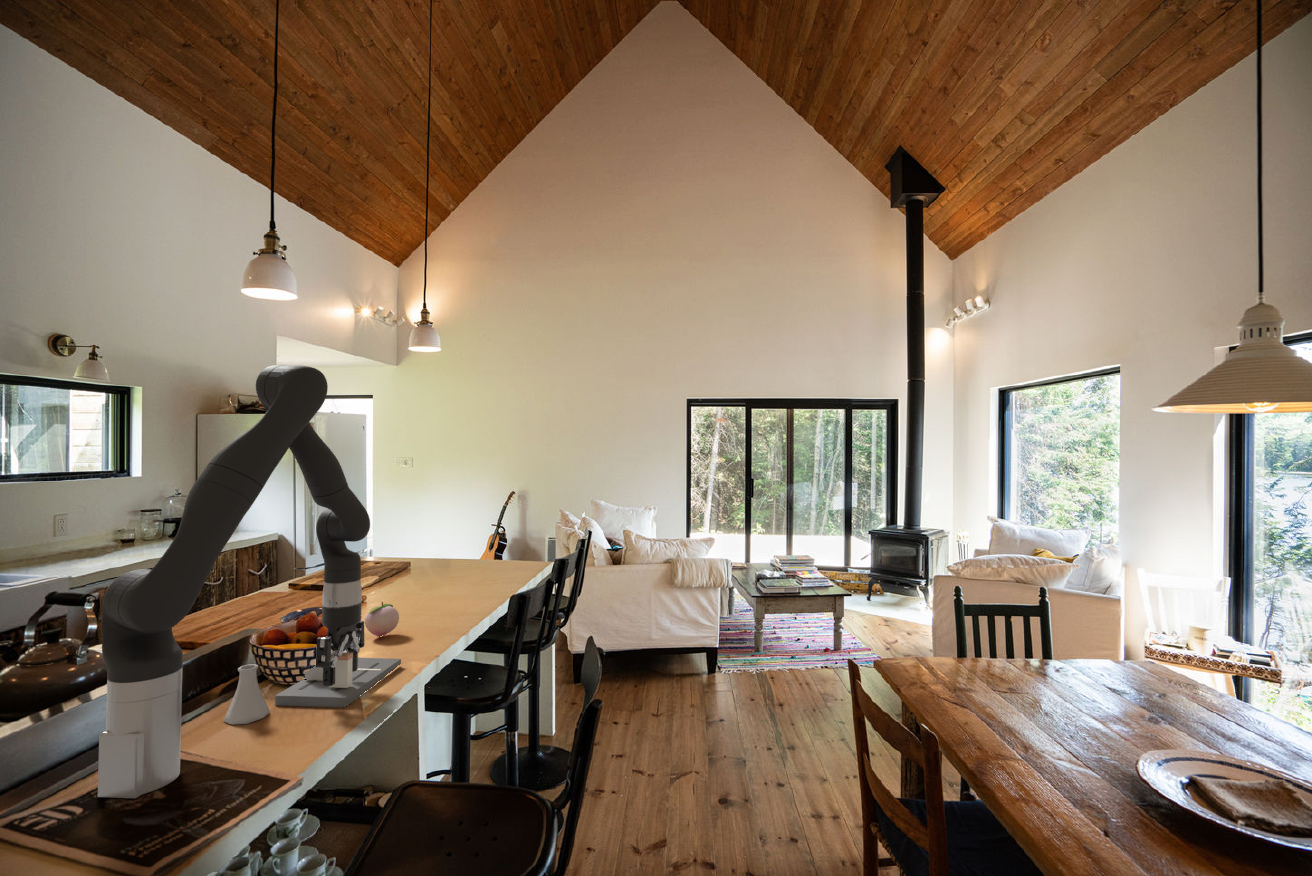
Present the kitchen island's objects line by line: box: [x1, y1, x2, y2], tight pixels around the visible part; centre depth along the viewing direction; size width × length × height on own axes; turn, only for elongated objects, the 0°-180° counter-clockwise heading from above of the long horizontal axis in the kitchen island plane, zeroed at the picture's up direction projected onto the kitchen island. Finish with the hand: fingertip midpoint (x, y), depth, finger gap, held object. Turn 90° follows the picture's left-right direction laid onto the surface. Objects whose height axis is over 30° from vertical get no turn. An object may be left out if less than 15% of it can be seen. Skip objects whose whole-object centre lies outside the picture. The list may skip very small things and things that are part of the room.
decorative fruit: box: [364, 601, 400, 637], centre depth 174 cm, size 9×8×10 cm
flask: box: [223, 663, 271, 725], centre depth 121 cm, size 7×7×10 cm
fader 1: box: [304, 656, 323, 680], centre depth 136 cm, size 2×4×7 cm, turn 87°
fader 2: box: [329, 652, 353, 688], centre depth 132 cm, size 2×4×7 cm, turn 86°
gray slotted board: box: [274, 657, 402, 708], centre depth 139 cm, size 24×15×2 cm, turn 176°
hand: (340, 677), depth 132 cm, fingers open, 8 cm apart
